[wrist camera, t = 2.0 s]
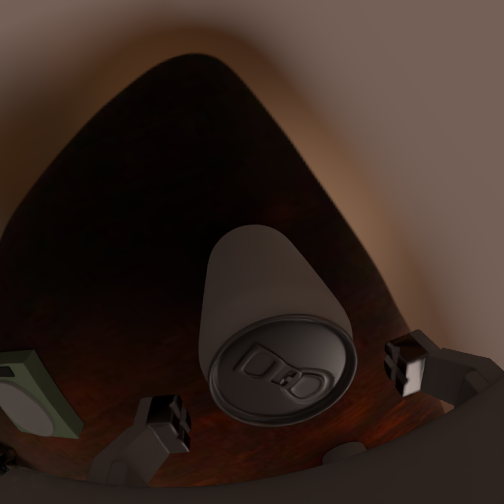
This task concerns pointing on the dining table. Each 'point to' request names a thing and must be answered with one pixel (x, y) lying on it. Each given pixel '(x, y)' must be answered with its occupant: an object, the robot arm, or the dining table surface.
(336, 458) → the coffee cup
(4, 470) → the bird figurine
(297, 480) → the robot arm
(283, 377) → the can
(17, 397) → the scale
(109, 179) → the dining table surface
